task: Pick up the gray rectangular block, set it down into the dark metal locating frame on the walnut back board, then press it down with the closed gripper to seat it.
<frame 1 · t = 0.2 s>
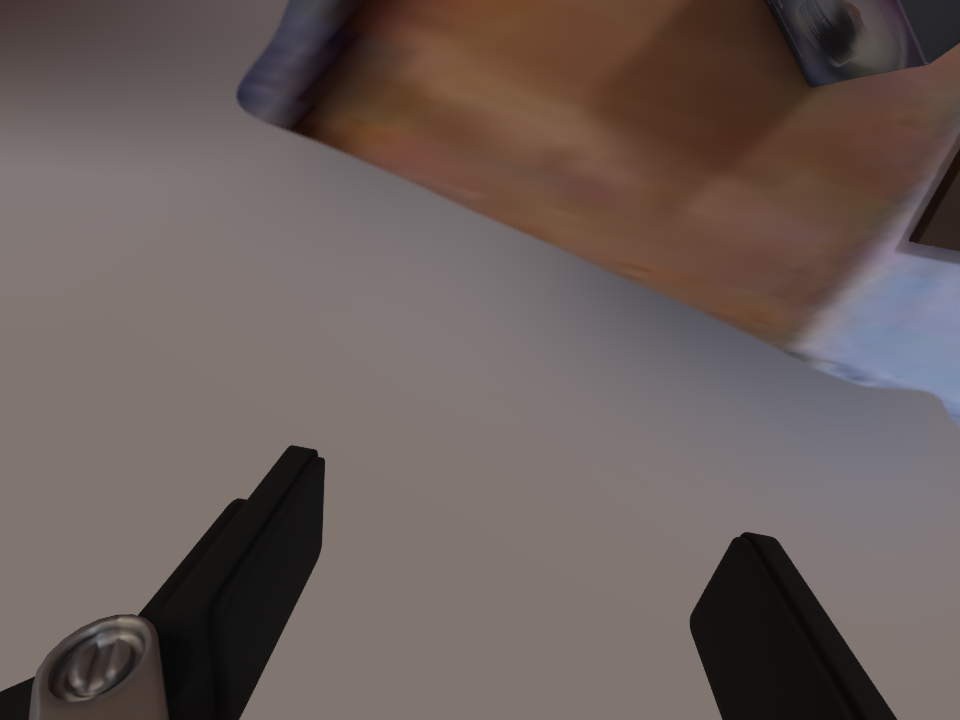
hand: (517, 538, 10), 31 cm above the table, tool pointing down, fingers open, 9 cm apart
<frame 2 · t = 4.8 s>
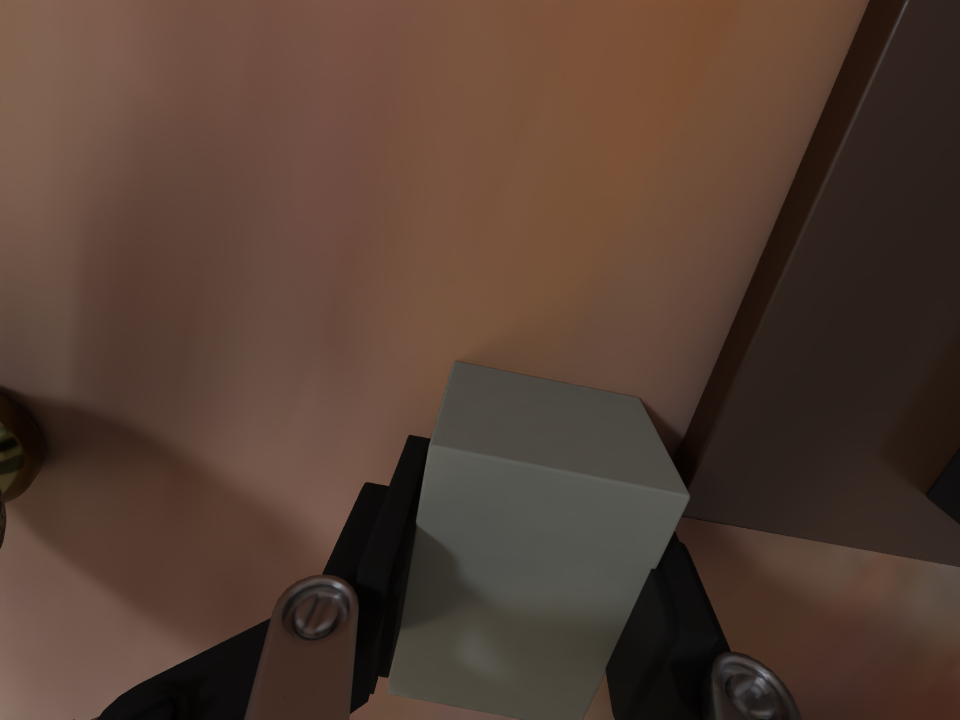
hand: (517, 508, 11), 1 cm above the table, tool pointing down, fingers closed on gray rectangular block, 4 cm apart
gray rectangular block: (515, 492, 12), on the table, touching gripper
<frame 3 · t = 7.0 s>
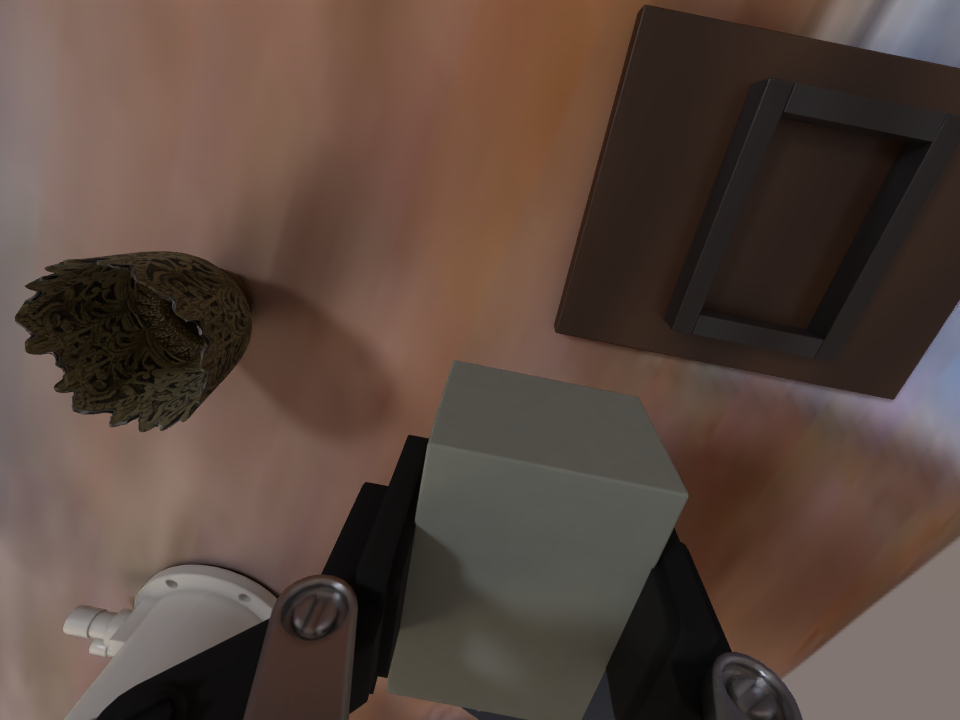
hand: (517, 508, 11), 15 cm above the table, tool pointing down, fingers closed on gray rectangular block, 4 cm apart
gray rectangular block: (514, 492, 12), point 14 cm above the table, touching gripper
cup: (228, 295, 26), on the table
small box: (560, 528, 31), on the table
mounting board: (776, 227, 22), on the table
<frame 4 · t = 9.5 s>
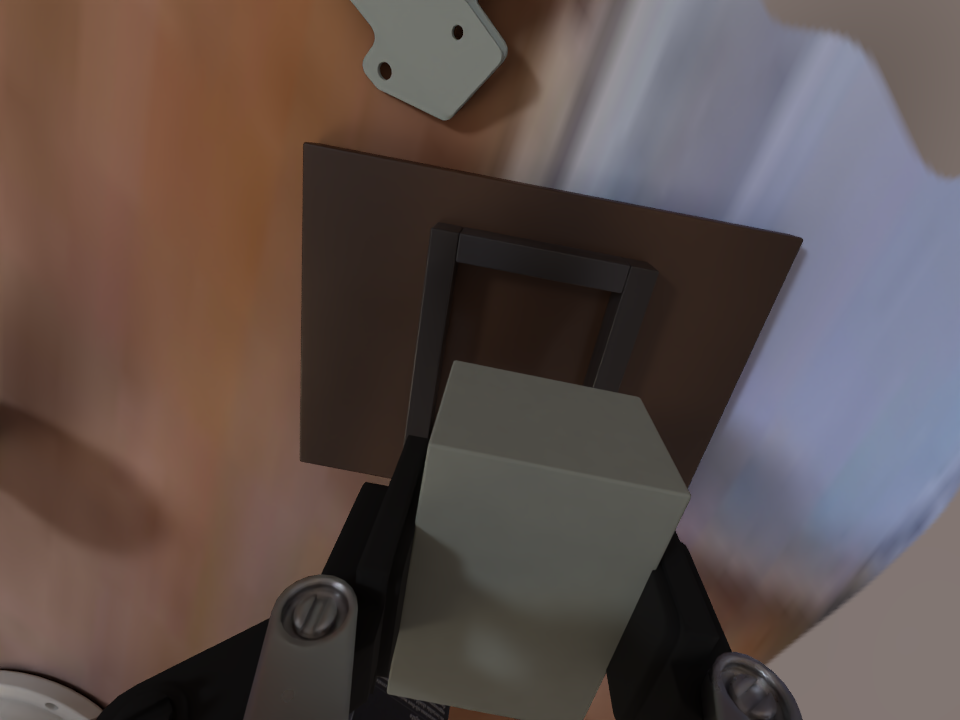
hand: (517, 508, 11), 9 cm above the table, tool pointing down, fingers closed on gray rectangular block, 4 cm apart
gray rectangular block: (515, 492, 12), point 9 cm above the table, touching gripper
small box: (368, 640, 29), on the table
mounting board: (514, 357, 20), on the table
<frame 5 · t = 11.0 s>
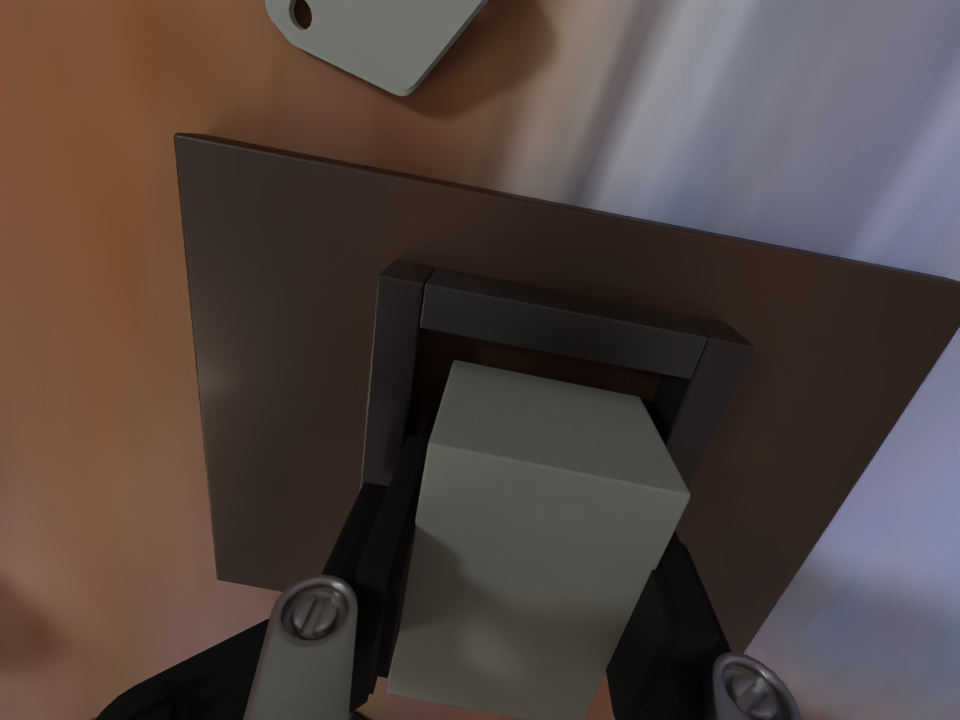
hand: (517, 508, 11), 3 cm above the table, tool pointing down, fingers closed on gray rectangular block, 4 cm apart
gray rectangular block: (515, 492, 12), point 2 cm above the table, touching gripper
mounting board: (515, 446, 14), on the table
when the fingers open (3 cm above the table, at t = 13.9 s): gray rectangular block stays where it is, resting on mounting board.
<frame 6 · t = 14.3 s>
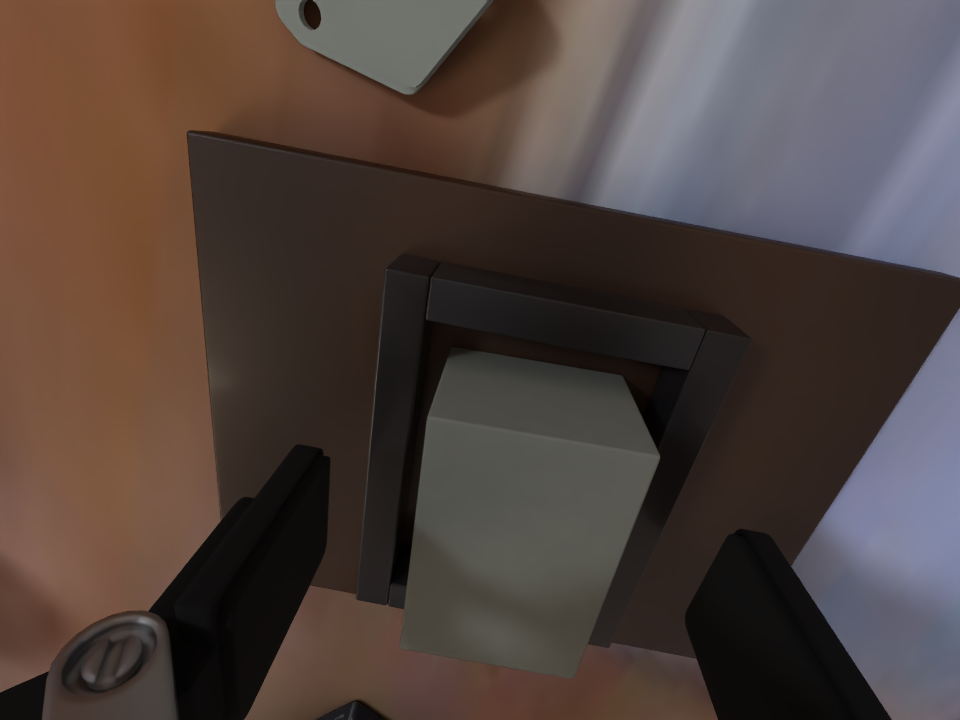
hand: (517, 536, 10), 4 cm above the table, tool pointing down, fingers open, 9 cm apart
gray rectangular block: (512, 468, 13), point 1 cm above the table, touching mounting board
mounting board: (517, 438, 14), on the table
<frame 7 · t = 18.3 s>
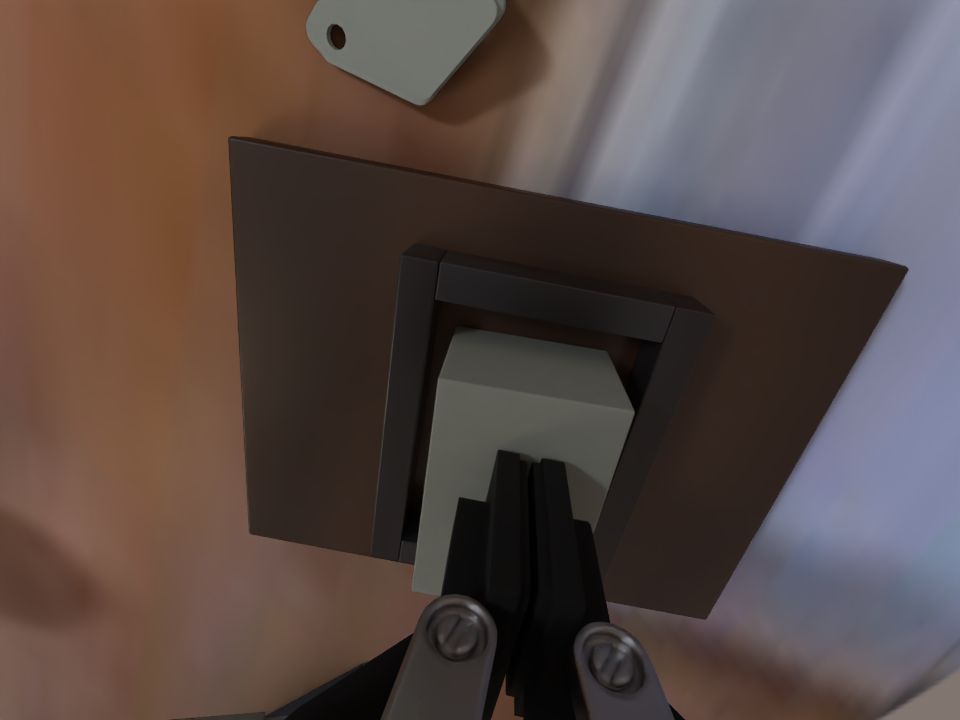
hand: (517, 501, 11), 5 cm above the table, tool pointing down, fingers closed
gray rectangular block: (510, 436, 15), point 1 cm above the table, touching gripper, mounting board
mounting board: (515, 411, 16), on the table
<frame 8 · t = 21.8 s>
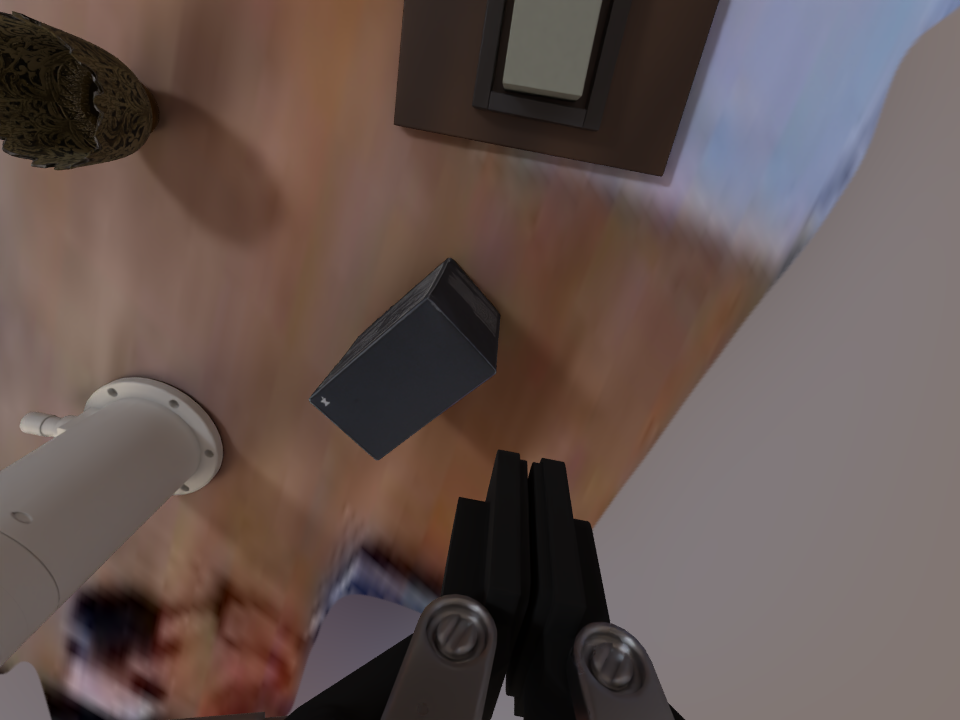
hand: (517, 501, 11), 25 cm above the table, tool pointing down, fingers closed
gray rectangular block: (551, 29, 27), point 1 cm above the table, touching mounting board
cup: (140, 108, 32), on the table
small box: (429, 326, 37), on the table
mounting board: (552, 26, 28), on the table
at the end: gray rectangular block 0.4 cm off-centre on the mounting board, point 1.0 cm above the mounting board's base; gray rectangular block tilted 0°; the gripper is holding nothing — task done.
